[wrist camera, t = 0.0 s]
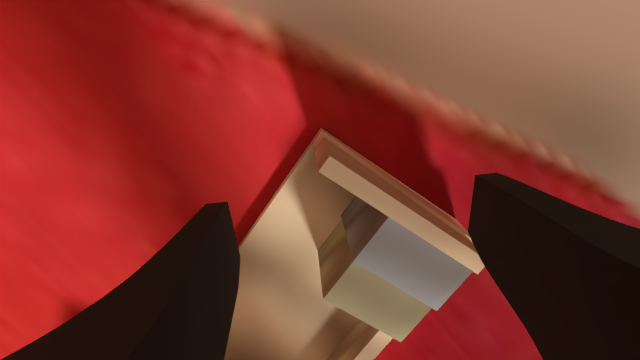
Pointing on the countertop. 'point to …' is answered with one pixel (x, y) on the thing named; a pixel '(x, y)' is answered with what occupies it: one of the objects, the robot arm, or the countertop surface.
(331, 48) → the countertop surface
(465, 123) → the countertop surface
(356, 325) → the shelf
